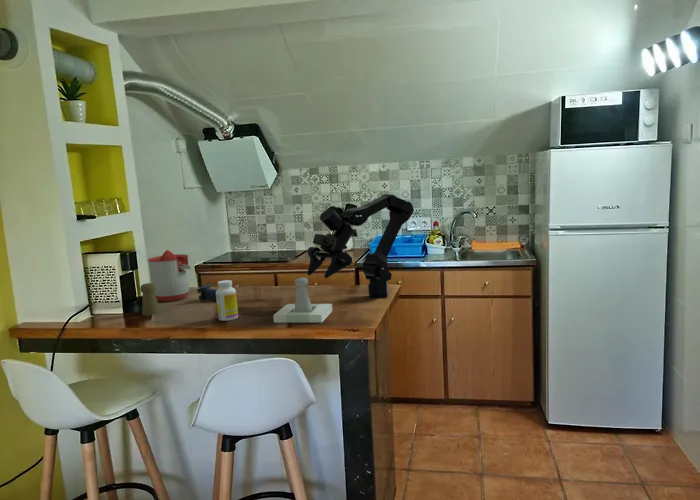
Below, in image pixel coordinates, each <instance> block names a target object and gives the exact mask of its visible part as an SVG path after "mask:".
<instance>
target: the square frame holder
mask: <svg viewBox="0 0 700 500" xmlns="http://www.w3.org/2000/svg"><path fill="white" fill-rule="evenodd" d="M311 306H312V312H295V303H287V304H286V305H284V306H283V307H282V308H281V309H279V310H278V311H277V312H276V313H274V314H273V315H272V316H273V323H278V324H279V323H280V324H281V323H284V324H285V323H287V324H289V323H294V324H295V323H297V324H298V323H302V324H303V323H307V324H308V323H314V324H315V323H323V322H324V321H325V319H327V318H328V316H329V315H331V314H332V312H333V304H332V303H311Z"/></svg>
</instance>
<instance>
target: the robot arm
mask: <svg viewBox="0 0 700 500" xmlns="http://www.w3.org/2000/svg"><path fill="white" fill-rule="evenodd" d="M384 209H387V210H388V211H389V215H388V216H389V221H388V223H387V225H386V227H385V229H384V231H383V233H382V236H381V238H380V240H379V242H378V243H377V246H376V249H375V251H374V252H373V253H367V254H366V256H365V259H364V260H363V262H362V264H363V265H362V267H361V269H362V271H363V274H364V276H365V280H369V283H368V295H369V298H370V299H371V298H388V296H389V295H390V292H389V285H388V282H389V281H391V280H392V277H393V275H392V273H391V272H390V271H389V269H387V267H388V256H389V254H390V251H391V249H392V247H393V245H394V243H395V241H396V238H397V236H398V234H399V232H400V230H401V227H402V226H403V225H404V224H405V223H407V222H408V221H409V220H410V219H411V217H412V216H413V214H414V210H415V209H414V205H413V204H412V202H410V201H408V200H406V199H405V200H404V199H403V198H400V197H398V196H397V195H394V194H393V193H390V194H389V193H385V194H381V196H379V197H377V198H375V199H373V200H372V201H370V202H367V203H366V204H364V205H362V206H357V207H352V208H348V209H345V210H344V211H343V212H342V213H341V212H340V211H339V210H338V209H337V207H336V206H334V205H331V206H329V208H326V209H325V210H324V211H323V212H322V213H321V214H320V215H319V220H320V222H322V223H323V224H324V225H325V227H326V228H327V229H328V230H329V231H331V232H333V234H332V233H326V234H320V233H315V234H314V236H313V240H312V244H316V245H318V246H319V247H318V246H309V247H308V248H307V250H306V253H307V255H308V256H309V265H308V269H307V273H306V275H308V276H311V275H312V274H313V273H315V271H317V270H318V269H319V268H320V267H321V266H322V265H323V264H324V262H325V260H326V259H330V260H331V261H330V264H329V266H328V268H327V269H326V271H325V273H324V275H323V277H324V278H325V279H328V278H329V277H331V276H332V275H334V274H336V273H337V272H339V271H341V270H343V269H345V268H347V267H351V265H352V263H353V257H352V256H351V255H350V253H348V252H347V251H346V250H347V249H348V246H347V244H348V243H349V241H350V239H351V238H352V237H353V238H357V237H359V236H358V232H357V229H356V228H353V227H361V226H362V225H363V224H365V223H366V222H367V221H368V220H369V218H370V217H371V216H373V215H375V214H376V213H379V212H380V211H382V210H384Z"/></svg>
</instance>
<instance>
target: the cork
mask: <svg viewBox="0 0 700 500" xmlns="http://www.w3.org/2000/svg"><path fill="white" fill-rule="evenodd" d="M139 288H140V292H141V293H142V302H141V303H142V305H141V306H142V308H141V309H142V310H141V312H142V313H141V314H142V316H152V315H153V316H154V315H157V314H159V313H160V307H159V305H158V300H157V298H156V296H155V289H156V287H155V285H154V284H153V283H151V282H146V283H143V284H142V285H140V287H139Z"/></svg>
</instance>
